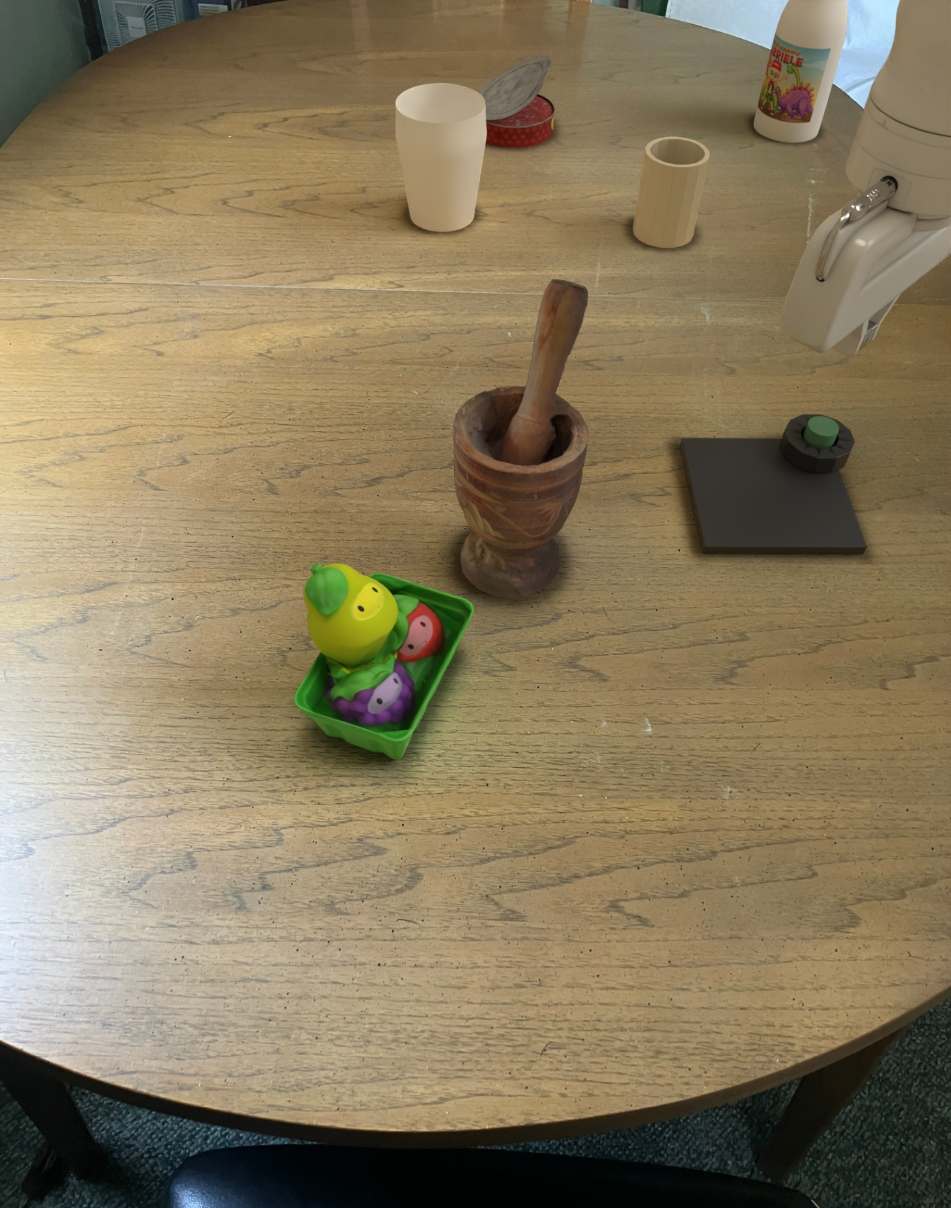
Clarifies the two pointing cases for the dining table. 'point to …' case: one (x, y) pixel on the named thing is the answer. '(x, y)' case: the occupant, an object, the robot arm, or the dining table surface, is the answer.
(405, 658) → the fruit basket
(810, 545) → the scale
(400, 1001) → the dining table surface
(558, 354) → the mortar and pestle
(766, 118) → the milk bottle
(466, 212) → the cup
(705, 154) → the tan hollow cylinder
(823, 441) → the button
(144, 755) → the dining table surface
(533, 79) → the canned food
